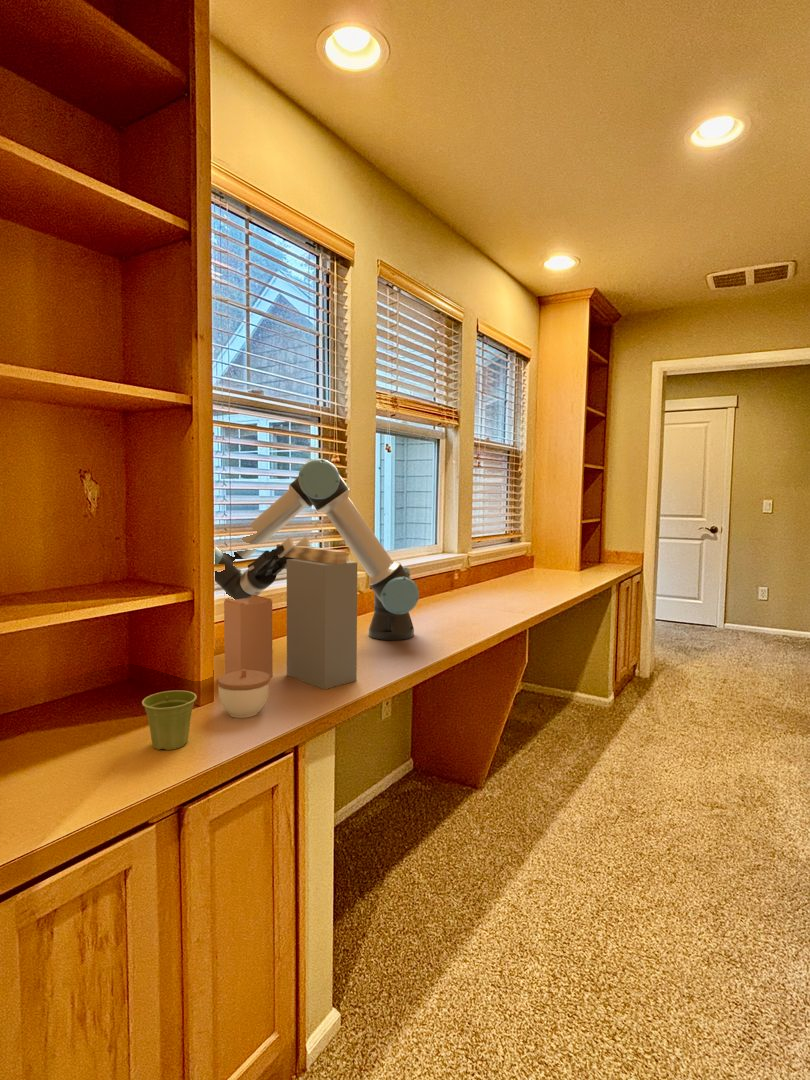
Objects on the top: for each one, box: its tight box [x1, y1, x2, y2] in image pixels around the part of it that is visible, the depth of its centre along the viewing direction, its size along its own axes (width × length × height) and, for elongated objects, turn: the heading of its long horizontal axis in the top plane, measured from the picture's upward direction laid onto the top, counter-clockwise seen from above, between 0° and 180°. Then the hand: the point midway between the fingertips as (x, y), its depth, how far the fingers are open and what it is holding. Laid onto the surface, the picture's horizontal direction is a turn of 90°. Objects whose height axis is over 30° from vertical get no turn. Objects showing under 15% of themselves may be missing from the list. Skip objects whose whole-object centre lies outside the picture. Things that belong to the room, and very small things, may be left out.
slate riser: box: [286, 559, 358, 690], centre depth 151 cm, size 16×10×30 cm, turn 45°
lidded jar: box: [217, 669, 271, 719], centre depth 127 cm, size 11×11×9 cm
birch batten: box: [276, 543, 348, 564], centre depth 153 cm, size 26×3×3 cm, turn 45°
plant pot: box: [141, 689, 198, 751], centre depth 111 cm, size 9×9×9 cm
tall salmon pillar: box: [223, 595, 274, 678], centre depth 152 cm, size 8×9×20 cm
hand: (299, 541), depth 156 cm, fingers open, 4 cm apart
